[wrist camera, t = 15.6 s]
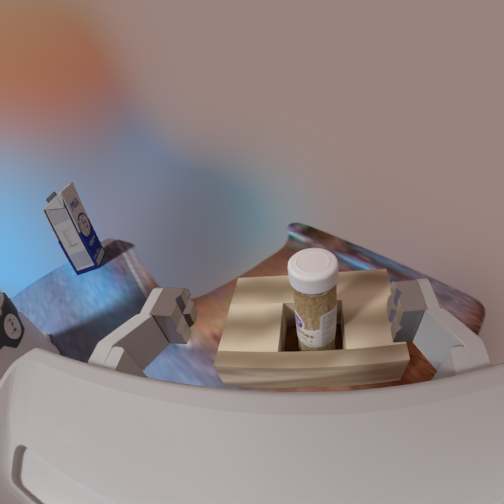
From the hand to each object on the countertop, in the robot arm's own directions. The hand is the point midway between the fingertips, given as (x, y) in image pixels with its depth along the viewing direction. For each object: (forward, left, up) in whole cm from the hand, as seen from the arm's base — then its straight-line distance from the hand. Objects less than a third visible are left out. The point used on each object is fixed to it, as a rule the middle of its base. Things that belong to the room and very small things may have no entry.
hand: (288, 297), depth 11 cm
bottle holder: (+5, +13, -21) cm, 25 cm away
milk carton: (-37, +48, -21) cm, 64 cm away
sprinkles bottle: (+5, +11, -21) cm, 24 cm away
